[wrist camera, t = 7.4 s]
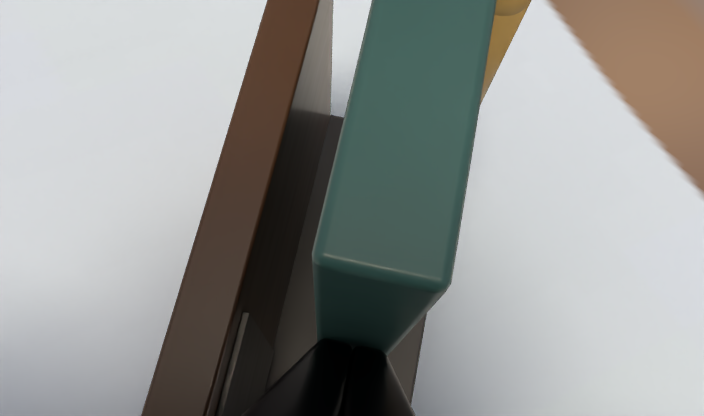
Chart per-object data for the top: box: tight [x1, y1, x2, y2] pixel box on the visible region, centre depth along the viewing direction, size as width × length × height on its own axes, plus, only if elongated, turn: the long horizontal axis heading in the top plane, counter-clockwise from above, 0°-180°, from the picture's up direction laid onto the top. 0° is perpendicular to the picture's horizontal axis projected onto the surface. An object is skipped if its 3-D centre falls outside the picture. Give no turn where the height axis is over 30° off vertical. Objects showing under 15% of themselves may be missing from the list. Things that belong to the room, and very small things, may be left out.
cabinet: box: [141, 0, 427, 416], centre depth 12 cm, size 12×4×7 cm, turn 168°
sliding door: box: [312, 0, 531, 356], centre depth 10 cm, size 6×2×10 cm, turn 168°
